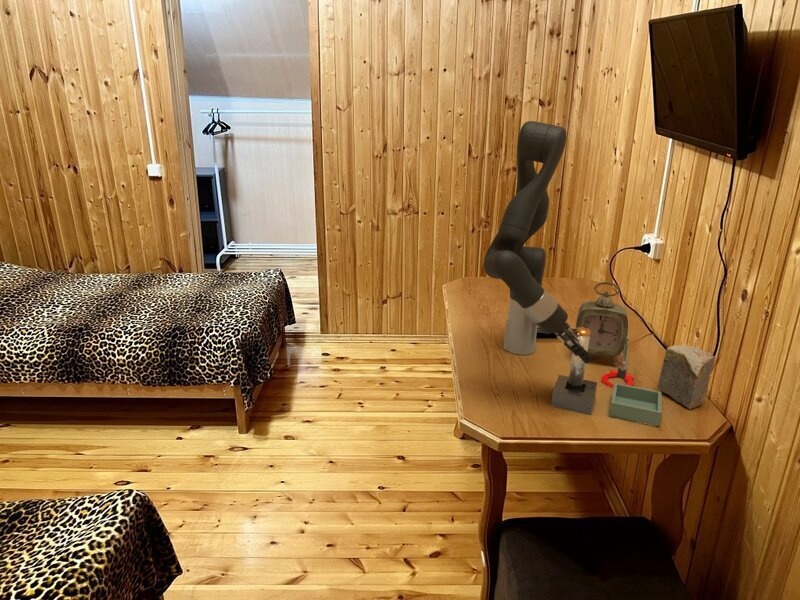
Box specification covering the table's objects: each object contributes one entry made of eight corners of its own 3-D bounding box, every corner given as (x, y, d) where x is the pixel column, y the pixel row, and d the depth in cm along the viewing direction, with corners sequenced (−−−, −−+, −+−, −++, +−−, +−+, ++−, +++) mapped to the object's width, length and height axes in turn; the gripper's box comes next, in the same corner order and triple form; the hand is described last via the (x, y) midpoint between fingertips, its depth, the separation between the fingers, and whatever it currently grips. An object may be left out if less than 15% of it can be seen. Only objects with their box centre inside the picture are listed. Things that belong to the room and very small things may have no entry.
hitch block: (551, 406, 149) (552, 390, 147) (557, 389, 157) (558, 374, 156) (591, 415, 145) (593, 399, 143) (594, 397, 154) (597, 382, 152)
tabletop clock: (571, 361, 174) (581, 283, 166) (572, 349, 182) (582, 274, 174) (621, 369, 170) (635, 289, 161) (620, 356, 178) (633, 280, 170)
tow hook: (627, 394, 157) (637, 380, 163) (634, 352, 152) (644, 339, 159) (597, 385, 161) (607, 372, 168) (602, 344, 156) (613, 332, 163)
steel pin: (567, 384, 149) (574, 331, 143) (569, 378, 152) (576, 326, 146) (581, 387, 147) (589, 333, 142) (583, 381, 150) (591, 328, 145)
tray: (608, 416, 145) (611, 402, 143) (612, 395, 155) (614, 382, 153) (658, 427, 140) (661, 413, 139) (658, 405, 150) (661, 391, 149)
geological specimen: (655, 392, 157) (665, 342, 152) (671, 388, 160) (682, 338, 155) (688, 410, 148) (699, 358, 143) (704, 406, 150) (716, 354, 145)
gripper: (562, 312, 135) (607, 360, 139) (551, 291, 149) (592, 336, 152) (537, 331, 138) (581, 379, 141) (528, 310, 151) (569, 353, 154)
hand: (587, 356), depth 147 cm, fingers closed on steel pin, 3 cm apart
